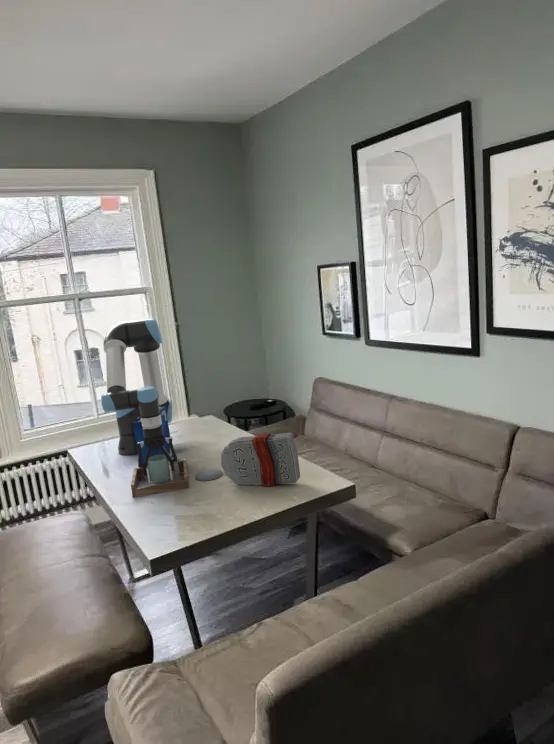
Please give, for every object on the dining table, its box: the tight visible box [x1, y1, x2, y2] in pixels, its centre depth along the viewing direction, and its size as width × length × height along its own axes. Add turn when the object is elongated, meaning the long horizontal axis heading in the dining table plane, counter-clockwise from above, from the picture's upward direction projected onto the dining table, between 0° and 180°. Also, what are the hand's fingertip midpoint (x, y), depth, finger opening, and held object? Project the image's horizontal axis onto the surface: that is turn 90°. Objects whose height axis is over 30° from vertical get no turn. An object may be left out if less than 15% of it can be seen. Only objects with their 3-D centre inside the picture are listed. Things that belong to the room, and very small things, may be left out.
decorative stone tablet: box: [220, 432, 301, 487], centre depth 210 cm, size 19×6×30 cm
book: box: [133, 406, 173, 470], centre depth 240 cm, size 22×7×25 cm, turn 169°
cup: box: [148, 454, 170, 484], centre depth 221 cm, size 8×8×10 cm
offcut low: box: [150, 469, 176, 483], centre depth 230 cm, size 4×10×3 cm, turn 113°
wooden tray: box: [130, 459, 190, 498], centre depth 222 cm, size 19×21×5 cm
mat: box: [194, 468, 223, 482], centre depth 226 cm, size 11×11×1 cm
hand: (160, 480), depth 222 cm, fingers closed on cup, 8 cm apart
